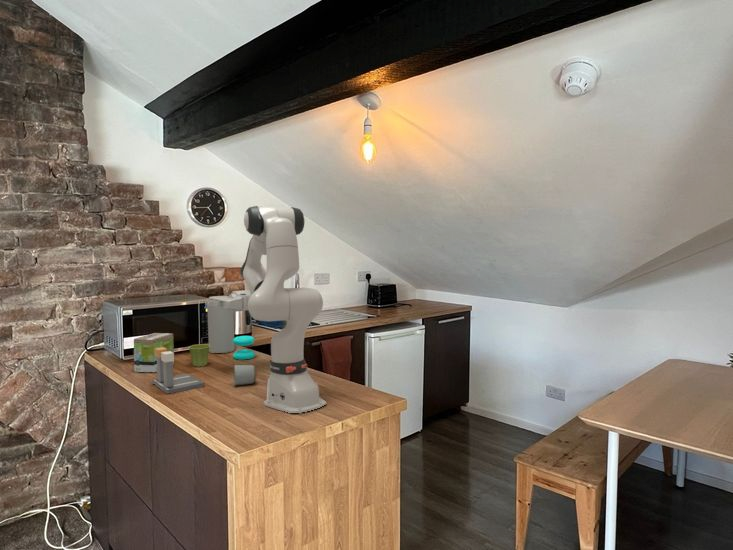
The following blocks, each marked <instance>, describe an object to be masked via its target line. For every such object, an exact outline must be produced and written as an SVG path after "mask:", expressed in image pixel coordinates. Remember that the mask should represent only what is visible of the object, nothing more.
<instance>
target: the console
mask: <svg viewBox="0 0 733 550" xmlns="http://www.w3.org/2000/svg"><path fill="white" fill-rule="evenodd" d="M173 381H174V386H172V387H166V386H164V381H163V382H160V381H158V378H155V379H151V384H152V383H153V384H155V385H156V386H157V387H159V388H160V389H161V390H160V389H159V388H158V389H159V390H160V391H162V390H163V391H164V392H165V393H164V392H163V391H162V392H163V393H164V394H166V393H167V394H166V395H170V394H169V393H171V394H175V393H174V392H176V393H179V392H185V390H186V391H190V390H195V389H200V388H204V387H205V385H206V384H205V382H204V381H202V380H201V379H199V378H196V377H195V376H193V375H192V374H189V373H187V372H186V373H181V374H177V375H173ZM153 384H152V385H153ZM155 385H154V386H155ZM156 386H155V387H156ZM157 387H156V388H157Z"/></svg>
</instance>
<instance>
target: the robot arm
mask: <svg viewBox="0 0 733 550" xmlns="http://www.w3.org/2000/svg"><path fill="white" fill-rule="evenodd" d="M305 221H306V220H305V215H304V213H303V211H302V210H301V209H300V208H297V207H292V206H291V207H286V206H277V205H263V206H258V205H254V206H249V207H248V208H247V209H246V211H245V213H244V216H243V225H244V228H245V230H246V232H248V234H249V235H252V237H251V238H250V240H249V244H248V248H247V252H246V257H245V260H244V262H243V264H242V266H241V268H240V276H241V277H242V278H243V280H244V281H245V282H246V284H247V286H248V289H245V290H243V289H241V290H233V291H232V292H231V293H230V294H229V295H217V296H209V297H208V300H207V301H205V307H207V306H216V307H220V308H224V309H229V310H233V312H236V313H237V312H243V311H244V312H246V311H248V312H249V315H250V316H251V318H252V319H254V321H259V322H261V321H262V322H280V321H286V322H287V323H286V325H285V327H283V328H282V329H281V330H278V331H277V332H276V333H275V334H273V336H272V338H271V339H270V354H271V359H270V360H269V370H270V375H269V377H268V379H267V386H266V387H267V388H266V400H264V401H263V406H265V407H268V408H272V409H273V410H279V411H281V412H284V411H285V413H287V412H288V414H290V413H299V414H303V413H302V412H305V413H308V412H307V411H310V412H312V411H311V410H313V411H315V410H314V409H317V408H320V407H322V406H324V405H325V404H326V403H327V401H326V400H324V399H323V398H322V397H321V396H320V390H319V384H318V382H317V381H314V379H313V378H312V377H311V375H310V374H309V372H308V370H307V369H308V363H306V360H305V358H304V349H305V348H304V345H305V343H304V342H305V335H306V332H307V330H308V327H309V326H310V324H311V323H312V321H314V319H316V318H317V317H318V316H319V315H320V314H321V312H322V310H323V306H324V300H323V297H322V294H321V292H320V291H318V289H316V288H309V287H291V288H290V287H289V288H286V287H285V286H284V285H285V282H286V281H287V280H289V279H291V278H292V277H294V276H295V275H297V273H298V272H299V270H300V257H299V255H300V254H299V243H298V238H297V235H301V234H302V232H303V231H304V228H305ZM262 255H263V256H266V269H265V268H264V266H263V264H262V262H261V260H262ZM324 407H325V406H324ZM322 408H323V407H322ZM320 409H321V408H320ZM317 410H318V409H317Z"/></svg>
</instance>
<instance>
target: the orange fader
mask: <svg viewBox="0 0 733 550" xmlns="http://www.w3.org/2000/svg"><path fill="white" fill-rule="evenodd" d="M161 352H167V349H166V348H164V347H161V348H155V356H156V357H157V372H156V373H157V374H156V376H157V378H156V379H158V381H160V382H163V381H164V376H163V361H162V360H161Z"/></svg>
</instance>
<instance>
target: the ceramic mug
mask: <svg viewBox="0 0 733 550" xmlns="http://www.w3.org/2000/svg"><path fill="white" fill-rule="evenodd" d="M256 380H257V370H256V366H255V365H253V364H241V365H239V364H235V365H233V385H234V386H245V385H252V384H255V383H256V382H257V381H256Z"/></svg>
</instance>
